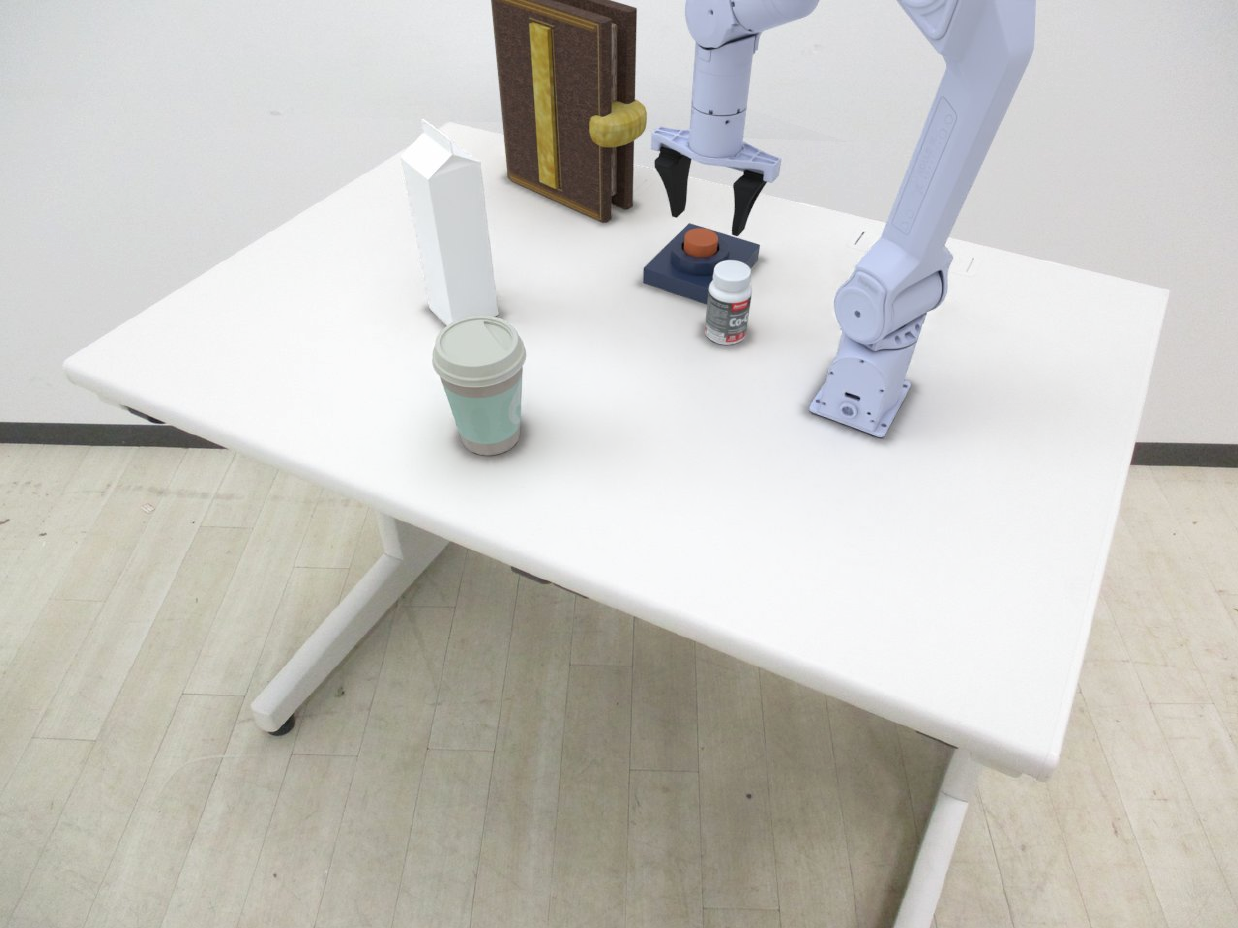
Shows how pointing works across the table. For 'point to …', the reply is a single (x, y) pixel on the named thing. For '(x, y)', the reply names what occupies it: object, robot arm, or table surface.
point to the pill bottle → (728, 302)
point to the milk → (450, 226)
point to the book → (570, 100)
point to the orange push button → (700, 242)
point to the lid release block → (695, 264)
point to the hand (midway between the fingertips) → (707, 222)
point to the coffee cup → (482, 380)
